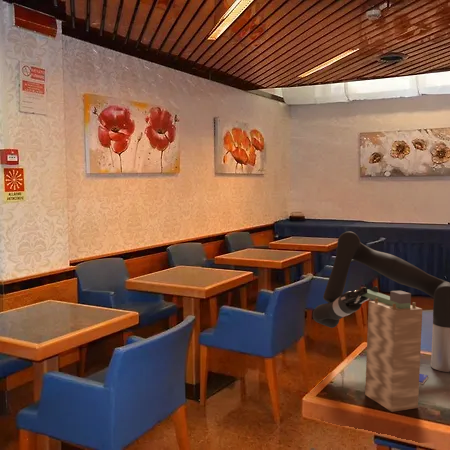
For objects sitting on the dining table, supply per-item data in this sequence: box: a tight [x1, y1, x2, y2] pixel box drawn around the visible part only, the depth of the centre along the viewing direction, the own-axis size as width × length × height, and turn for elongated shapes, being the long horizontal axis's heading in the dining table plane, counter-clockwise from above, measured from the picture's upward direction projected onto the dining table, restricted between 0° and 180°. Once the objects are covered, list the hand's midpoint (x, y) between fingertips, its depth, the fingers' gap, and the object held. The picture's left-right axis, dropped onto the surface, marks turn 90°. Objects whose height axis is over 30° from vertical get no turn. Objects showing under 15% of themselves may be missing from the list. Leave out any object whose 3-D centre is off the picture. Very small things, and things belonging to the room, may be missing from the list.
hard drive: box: [419, 373, 429, 385], centre depth 192 cm, size 2×8×12 cm
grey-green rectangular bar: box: [363, 288, 412, 309], centre depth 173 cm, size 22×4×5 cm, turn 20°
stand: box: [364, 298, 423, 413], centre depth 169 cm, size 14×10×34 cm
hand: (371, 289), depth 179 cm, fingers closed on grey-green rectangular bar, 4 cm apart
